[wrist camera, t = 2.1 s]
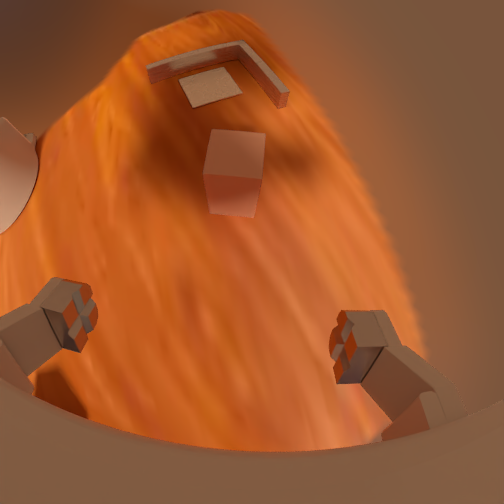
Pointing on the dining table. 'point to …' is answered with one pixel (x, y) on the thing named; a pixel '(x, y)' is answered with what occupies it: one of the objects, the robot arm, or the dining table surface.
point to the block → (234, 172)
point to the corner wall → (218, 74)
